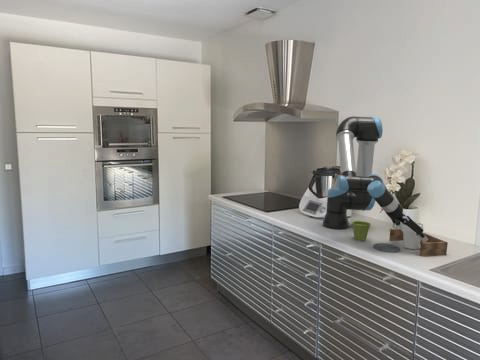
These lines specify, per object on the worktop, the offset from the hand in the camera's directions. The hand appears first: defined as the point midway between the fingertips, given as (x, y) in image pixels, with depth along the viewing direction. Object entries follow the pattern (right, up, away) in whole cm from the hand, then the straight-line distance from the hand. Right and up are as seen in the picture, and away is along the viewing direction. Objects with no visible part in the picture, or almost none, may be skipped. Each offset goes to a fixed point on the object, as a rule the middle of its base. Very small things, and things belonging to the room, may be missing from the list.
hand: (416, 236), depth 174 cm
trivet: (-16, -5, -2) cm, 17 cm away
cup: (-2, -5, 0) cm, 6 cm away
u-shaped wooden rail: (0, -5, +1) cm, 5 cm away
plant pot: (-24, -3, +12) cm, 27 cm away
